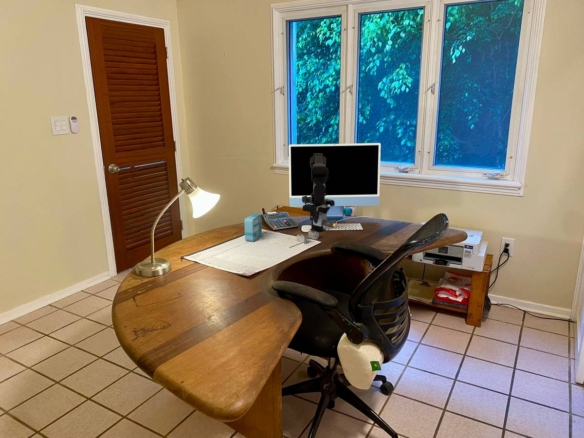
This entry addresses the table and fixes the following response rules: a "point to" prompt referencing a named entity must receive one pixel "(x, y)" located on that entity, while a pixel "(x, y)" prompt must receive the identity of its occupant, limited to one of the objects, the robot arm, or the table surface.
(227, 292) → the table surface
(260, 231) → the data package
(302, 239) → the housing
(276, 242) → the mat
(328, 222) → the plug
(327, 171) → the robot arm
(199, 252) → the table surface
